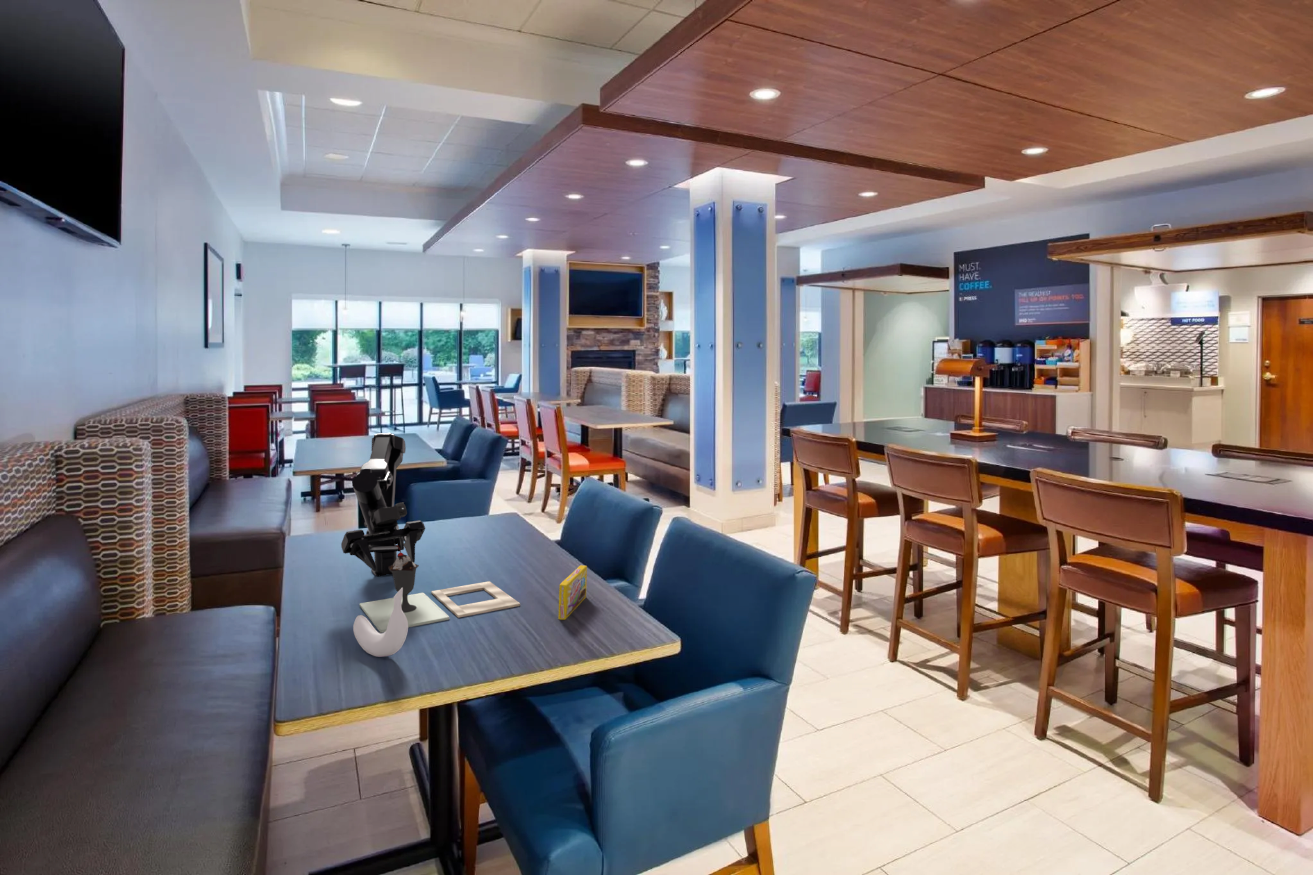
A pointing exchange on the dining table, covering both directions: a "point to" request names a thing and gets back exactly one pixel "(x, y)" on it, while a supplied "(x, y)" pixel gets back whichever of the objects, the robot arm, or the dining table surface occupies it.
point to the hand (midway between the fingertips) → (394, 566)
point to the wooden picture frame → (498, 603)
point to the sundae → (404, 578)
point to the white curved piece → (387, 640)
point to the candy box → (572, 592)
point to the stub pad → (420, 616)
